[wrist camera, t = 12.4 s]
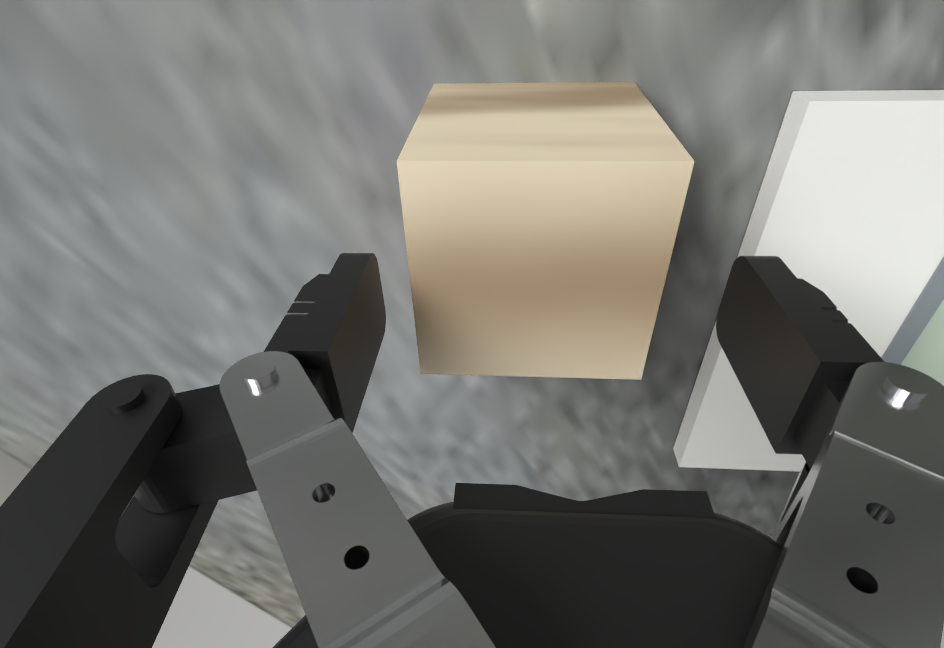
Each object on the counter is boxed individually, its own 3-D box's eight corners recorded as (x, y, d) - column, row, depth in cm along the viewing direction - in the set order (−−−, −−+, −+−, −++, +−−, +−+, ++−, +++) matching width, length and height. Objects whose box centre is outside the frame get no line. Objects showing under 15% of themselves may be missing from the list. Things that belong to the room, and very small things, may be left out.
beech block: (434, 83, 15) (396, 161, 10) (633, 81, 14) (694, 161, 9) (445, 254, 18) (420, 373, 13) (606, 256, 18) (640, 379, 13)
